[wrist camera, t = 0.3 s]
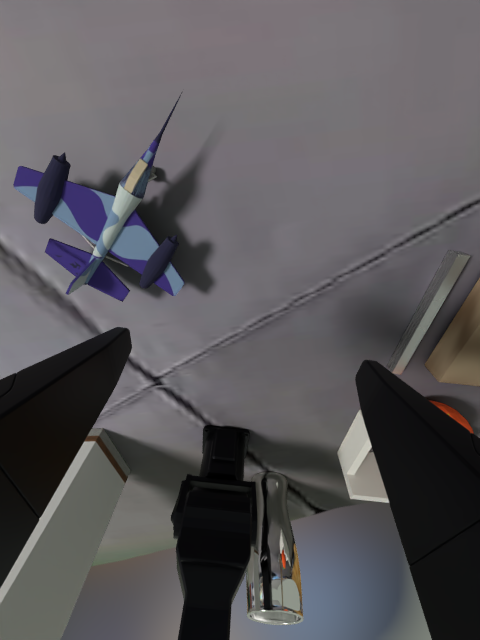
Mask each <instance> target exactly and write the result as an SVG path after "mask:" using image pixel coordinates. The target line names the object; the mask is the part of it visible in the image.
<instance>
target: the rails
mask: <svg viewBox="0 0 480 640" xmlns="http://www.w3.org/2000/svg"><path fill="white" fill-rule="evenodd" d="M469 258H470V255H468V254H465V253H463V252H460V251H451V250H448V252H447V254H446V256H445V258H444V259H443V261H442V263H441V265H440V267H439V269H438V271H437V273H436V274H435V276H434V278H433V280H432V282H431V284H430V286H429V288H428V290H427V291H426V293H425V295H424V297H423V299H422V301H421V303H420V305H419V306H418V308H417V310H416V312H415V314H414V316H413V318H412V320H411V322H410V323H409V325H408V327H407V329H406V331H405V333H404V335H403V337H402V338H401V340H400V342H399V344H398V346H397V348H396V350H395V352H394V353H393V355H392V357H391V359H390V361H389V363H388V365H387V367H388V368H389V370H390V371H391V373H393V374H402V372H403V370H404V369H405V367H406V365H407V364H408V362H409V360H410V358H411V357H412V355H413V353H414V352H415V350H416V348H417V346H418V345H419V343H420V341H421V340H422V338H423V336H424V334H425V333H426V331H427V329H428V328H429V326H430V324H431V322H432V321H433V319H434V317H435V316H436V314H437V312H438V311H439V309H440V307H441V305H442V304H443V302H444V300H445V299H446V297H447V295H448V293H449V292H450V290H451V288H452V287H453V285H454V283H455V281H456V280H457V278H458V276H459V275H460V273H461V271H462V270H463V268H464V266H465V264H466V263H467V261H468V259H469Z"/></svg>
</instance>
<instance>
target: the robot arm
mask: <svg viewBox="0 0 480 640" xmlns="http://www.w3.org/2000/svg"><path fill="white" fill-rule="evenodd" d="M131 349H132V344H131V337H130V331H129V329H127V328H122V327H116V328H114V329H111V330H109V331H107V332H105V333H103V334H100V335H98V336H96V337H94V338H92V339H89V340H87V341H85V342H83V343H81V344H78V345H76V346H74V347H72V348H69V349H67V350H65V351H63V352H61V353H58V354H56V355H54V356H52V357H50V358H47V359H45V360H43V361H41V362H39V363H36V364H34V365H32V366H30V367H27V368H25V369H23V370H21V371H19V372H17V374H16V373H14V374H12V375H10V376H8V377H5V378H3V379H1V380H0V588H1V587H2V585H3V583H4V581H5V580H6V578H7V576H8V574H9V573H10V571H11V569H12V567H13V566H14V564H15V562H16V560H17V559H18V557H19V555H20V553H21V552H22V550H23V548H24V546H25V545H26V543H27V541H28V539H29V538H30V536H31V534H32V532H33V531H34V529H35V527H36V525H37V524H38V522H39V518H41V516H42V515H43V513H44V511H45V509H46V508H47V506H48V504H49V502H50V501H51V499H52V497H53V495H54V494H55V492H56V490H57V488H58V487H59V485H60V483H61V481H62V480H63V478H64V476H65V474H66V473H67V471H68V469H69V467H70V466H71V464H72V462H73V460H74V459H75V457H76V455H77V453H78V452H79V450H80V448H81V446H82V445H83V443H84V441H85V439H86V438H87V436H88V434H89V432H90V431H91V429H92V427H93V425H94V424H95V422H96V420H97V418H98V417H99V415H100V413H101V411H102V410H103V408H104V406H105V404H106V403H107V401H108V399H109V397H110V396H111V394H112V392H113V390H114V388H115V387H116V385H117V382H118V380H119V378H120V376H121V373H122V371H123V369H124V366H125V364H126V362H127V359H128V357H129V355H130V352H131ZM355 380H356V386H357V391H358V396H359V402H360V407H361V412H362V416H363V420H364V423H365V427H366V430H367V433H368V436H369V439H370V443H371V446H372V449H373V452H374V455H375V459H376V462H377V465H378V468H379V471H380V475H381V478H382V481H383V484H384V487H385V491H386V494H387V497H388V500H389V503H390V507H391V510H392V513H393V516H394V519H395V523H396V526H397V529H398V532H399V535H400V538H401V542H402V545H403V548H404V551H405V554H406V557H407V561H408V563H409V565H410V571H411V574H412V577H413V581H414V584H415V587H416V590H417V593H418V596H419V600H420V603H421V606H422V609H423V613H424V616H425V619H426V622H427V625H428V628H429V632H430V635H431V638H432V640H480V438H478V437H477V436H476V435H474V434H473V433H470V431H469V430H468V429H466V428H465V427H464V426H462V425H461V424H460V423H458V422H457V421H456V420H454V419H453V418H452V417H450V416H449V415H448V414H446V413H445V412H444V411H442V410H441V409H440V408H438V407H437V406H436V405H434V404H433V403H432V402H430V401H429V400H428V399H426V398H425V397H423V396H422V395H421V394H419V393H418V392H417V391H415V390H414V389H413V388H411V387H410V386H409V385H407V384H406V383H405V382H403V381H402V380H401V379H399V378H398V377H397V376H395V375H394V374H393V373H391V372H390V371H389V370H387V369H386V368H385V367H383V366H382V365H381V364H379V363H378V362H377V361H372V360H364V361H363V363H362V364H361V366H360V368H359V370H358V372H357V374H356V379H355ZM249 436H250V432H249V431H248V430H241V429H232V428H222V427H213V426H204V428H203V452H202V453H203V459H202V464H201V470H200V475H199V476H193V475H192V474H187V477H186V480H184V481H182V484H181V488H180V492H179V496H178V499H177V501H176V504H175V507H174V509H173V512H172V515H171V521H172V523H173V525H174V527H173V530H174V539H178V541H177V546H176V558H177V571H178V575H179V580H180V584H181V589H182V593H183V598H184V606H183V612H182V618H181V624H180V630H179V636H178V640H229V637H230V619H231V604H232V602H233V600H234V598H235V596H236V594H237V592H238V589H239V587H240V585H241V583H242V581H243V579H244V576H245V573H246V570H247V567H248V564H249V561H250V557H251V547H253V548H255V545H256V539H257V498H256V482H254V481H251V482H247V481H243V477H244V459H245V457H246V452H247V447H248V441H249Z"/></svg>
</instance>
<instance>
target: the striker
mask: <svg viewBox="0 0 480 640" xmlns="http://www.w3.org/2000/svg"><path fill="white" fill-rule="evenodd" d="M425 366H426V368H427V369H428V370H429V371H430V372H431V373H432V375H433V376H434V377H435V378H436V379H437V380H438V382H445V383H454V384H463V385H472V386H480V278H479V280H478V281H477V283H476V284H475V286H474V287H473V289H472V291H471V292H470V294H469V295H468V297H467V298H466V300H465V302H464V303H463V305H462V306H461V308H460V310H459V311H458V313H457V314H456V316H455V317H454V319H453V321H452V322H451V324H450V325H449V327H448V328H447V330H446V332H445V333H444V335H443V336H442V338H441V339H440V341H439V343H438V344H437V346H436V347H435V349H434V351H433V352H432V354H431V355H430V357H429V358H428V360H427V362H426V363H425Z"/></svg>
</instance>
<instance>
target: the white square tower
mask: <svg viewBox="0 0 480 640" xmlns="http://www.w3.org/2000/svg"><path fill="white" fill-rule="evenodd" d="M129 473H130V469H129V467H128V466H127V464H126V463H125V461H124V460H123V458H122V457H121V455H120V453H119V452H118V450H117V449H116V447H115V446H114V444H113V443H112V441H111V440H110V438H109V436H108V435H107V433H106V432H105V430H104V429H103V428H99V429H91V431H90V432H89V434H88V436H87V438H86V439H85V441H84V443H83V445H82V446H81V448H80V450H79V452H78V453H77V455H76V457H75V459H74V460H73V462H72V464H71V466H70V467H69V469H68V471H67V473H66V474H65V476H64V478H63V480H62V481H61V483H60V485H59V487H58V488H57V490H56V492H55V494H54V495H53V497H52V499H51V501H50V502H49V504H48V506H47V508H46V509H45V511H44V513H43V515H42V516H41V518H39V522H38V524H37V525H36V527H35V529H34V531H33V532H32V534H31V536H30V538H29V539H28V541H27V543H26V545H25V546H24V548H23V550H22V552H21V553H20V555H19V557H18V559H17V560H16V562H15V564H14V566H13V567H12V569H11V571H10V573H9V574H8V576H7V578H6V580H5V581H4V583H3V585H2V587H1V588H0V640H61V637H62V635H63V633H64V630H65V628H66V625H67V623H68V621H69V618H70V616H71V613H72V611H73V608H74V606H75V604H76V601H77V599H78V596H79V594H80V591H81V589H82V587H83V584H84V582H85V579H86V577H87V575H88V572H89V569H90V567H91V565H92V563H93V560H94V558H95V555H96V553H97V550H98V548H99V546H100V543H101V541H102V538H103V536H104V533H105V531H106V529H107V526H108V524H109V521H110V519H111V517H112V514H113V512H114V509H115V507H116V504H117V502H118V500H119V497H120V495H121V492H122V490H123V488H124V485H125V483H126V480H127V478H128V475H129Z"/></svg>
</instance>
